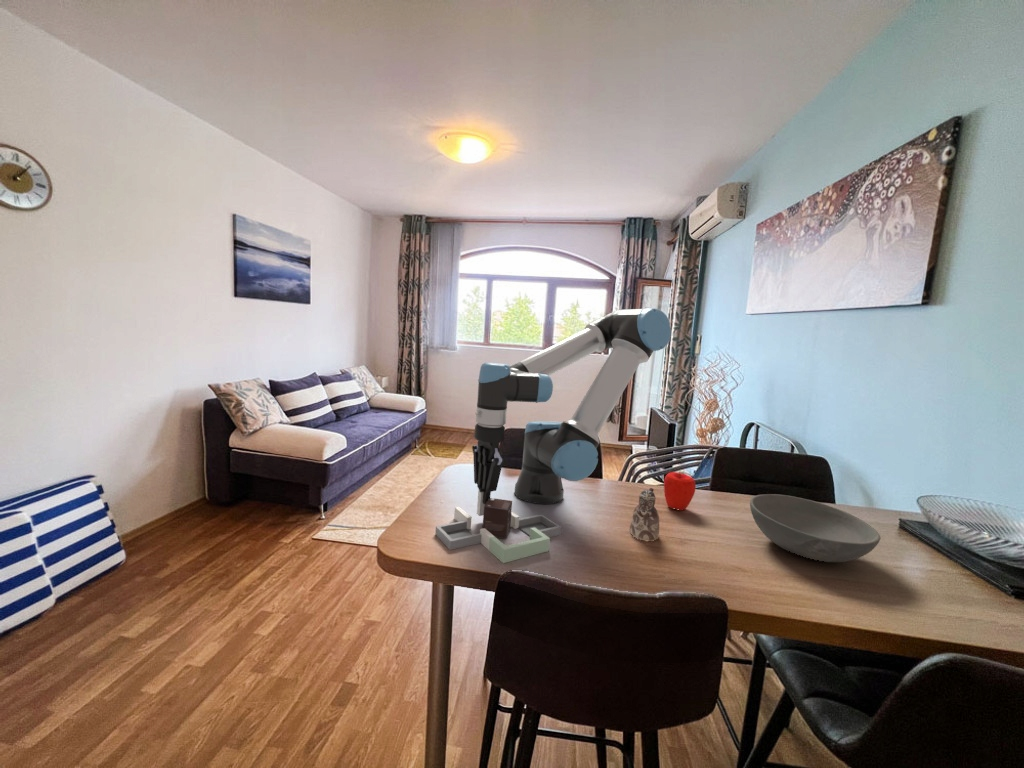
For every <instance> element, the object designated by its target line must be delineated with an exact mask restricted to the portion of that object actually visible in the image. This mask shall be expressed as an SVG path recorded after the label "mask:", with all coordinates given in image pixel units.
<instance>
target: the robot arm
mask: <svg viewBox="0 0 1024 768" xmlns="http://www.w3.org/2000/svg"><path fill="white" fill-rule="evenodd" d="M671 336H672V327H671V322H670V320H669V317H668V316H667V315H666V314H665V312H664V311H663V310H661V309H659V308H651V307H644V308H632V309H631V308H629V309H625V308H624V309H618V310H614V311H613V312H610V313H608V314H606V315H604V316H603V315H602V317H600V318H597V319H596V320H594V321H592V322H590V323H588V324H586V326H585V327H584V329H583V330H582V331H579V332H577V333H575V334H573V335H570V336H569V337H567V338H565V339H563V340H562V341H559V342H557V343H555V344H553V345H551V346H549V347H546V349H543V350H541V351H538V352H536V353H535V354H533V355H530V356H529V357H527V358H524V359H523V360H521V361H518V362H517V363H515V364H512V365H511V366H510V364H506V363H499V362H498V363H497V362H484V363H482V364H481V365H480V370H479V375H478V380H477V381H478V386H477V403H476V412H475V415H476V416H475V422H476V424H475V425H474V433H473V434H474V435H473V437H474V439H475V440H476V441H477V444H475V445H474V444H473V445H472V446H471V448H472V454H473V481H474V482H473V483H474V484H475V485H477V486H476V487H477V489H478V492H477V494H478V495H477V505H476V506H477V507H476V515H477V516H479V517H481V516H483V515H484V506H485V504H486V502H487V501H488V500H489V498H491V493H492V492H497V488H498V483H499V480H500V476H501V473H502V472H501V471H502V467H503V465H504V463H505V461H506V459H505V457H504V456H501V455H500V452H501V449H500V443H502V442H503V441H504V440H505V433H506V432H505V431H506V429H505V426H504V425H506V424H507V423H506V421H507V409H508V402H509V403H510V402H514V403H515V402H517V403H518V402H521V403H535V404H538V403H545V402H548V401H550V399H551V397H552V396H553V389H554V384H553V380H552V378H551V377H550V376H551V375H553V374H555V373H557V372H558V371H560V370H562V369H564V368H566V367H568V366H570V365H572V364H574V363H576V362H579V361H580V360H582V359H583V358H586V357H587V356H590V355H592V354H593V353H602V352H605V351H606V350H609V349H612V350H611V351H610V354H609V355H608V357H607V358H606V360H605V362H604V363H603V364H602V367H601V369H600V370H599V372H598V373H597V375H596V377H595V378H594V380H593V381H592V384H591V385H590V387H589V388H588V390H587V391H586V393H585V395H584V397H583V399H582V400H581V401H580V403H579V405H578V407H577V408H576V410H575V412H574V413H573V414H572V416H571V418H570V419H566V420H563V421H562V422H559V421H551V420H549V421H547V420H546V421H545V420H542V421H541V420H540V421H539V420H537V421H536V420H533V421H529V422H527V423H526V424H525V429H524V430H525V431H524V433H523V434H524V440H523V453H522V465H521V470H520V473H519V476H518V478H517V481H516V482H515V485H514V495H515V496H516V497H517V498H518V499H521V500H522V501H525V502H528V503H533V504H538V505H544V504H545V505H548V504H549V505H550V504H557V503H559V502H561V501H562V500H563V499H564V494H565V491H564V487H563V481H562V479H564V480H567V481H569V482H579V481H582V480H585V479H587V478H588V477H589V476H590V475H592V473H593V472H594V470H595V469H596V467H597V465H598V461H599V458H598V456H599V452H598V450H597V448H598V447H599V444H600V439H599V434H600V432H601V431H602V429H603V427H604V425H605V423H606V422H607V420H608V419H609V418H610V417H609V416H610V415H611V413H612V411H613V410H614V408H615V407H616V405H617V403H618V401H619V400H620V398H621V396H622V394H623V393H624V392H625V389H626V388H627V386H628V384H629V383H630V381H631V380H632V377H633V376H634V374H635V373H636V372H637V369H638V367H639V365H640V364H643V363H647V362H648V361H649V360H650V358H651V356H652V354H653V353H654V352H656V351H657V352H659V351H660V350H663V349H664V348H666V347H667V346H668V344H669V342H670V340H671Z"/></svg>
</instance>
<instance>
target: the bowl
mask: <svg viewBox="0 0 1024 768" xmlns="http://www.w3.org/2000/svg"><path fill="white" fill-rule="evenodd" d="M749 507H750V513H751V515H752V518H753V520H754V522H755V524H756V525H757V527H758V528H759V530H760V531H761V533H762V534H764V536H765V537H766V538H767V539H769V540H770V541H771V542H773V543H774V544H776V545H777V546H778V547H779V548H781V549H783V550H785V551H787V552H789V551H790V553H791V554H794V553H795V554H794V555H796V554H797V556H799V555H801V556H800V557H802V556H803V557H802V558H805V557H806V559H808V558H810V559H809V560H812V559H814V561H817V560H819V561H818V562H822V561H824V562H823V563H843V562H845V563H846V562H850V561H854V560H856V559H859V558H862V557H864V556H866V555H868V554H869V553H870V552H872V551H873V550H874V549H875V548H876V547H877V546H878V544H879V542H880V540H881V535H880V533H878V531H877V530H876V529H875V528H874V527H872V525H870V524H869V523H867V522H865V521H864V520H862V519H861V518H859V517H857V516H855V515H853V514H851V513H849V512H846V511H844V510H842V509H839V508H836V507H833V506H831V505H827V504H824V503H821V502H819V501H815V500H812V499H808V498H802V497H797V496H794V495H786V494H776V493H774V494H772V493H771V494H770V493H767V494H766V493H765V494H757V495H754V496H753V497H752V498H751V499H750V501H749Z"/></svg>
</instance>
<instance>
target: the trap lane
mask: <svg viewBox="0 0 1024 768" xmlns="http://www.w3.org/2000/svg"><path fill="white" fill-rule="evenodd" d="M453 514H454V515H453V519H454V520H455V521H456V522H452V523H451V522H450V523H446V524H440V525H436V526H435V533H434V534H435V535H436V537H437V538H438V539H439V540H440V541H441V542H442V543H443V544H444V545H445V547H446V548H447V549H448V550H449V551H452V550H457V549H462V548H465V547H469V546H473V545H478V544H481V545H482V546H484V547H485V548H486V549H487V550H488V551H489V552H490V553H491V554H492V555H493V556H494V557H496V558H497V559H498V560H499V561H500V562H501V563H502V564H506V563H509V562H513V561H517V560H521V559H524V558H525V559H526V558H528V557H531V556H536V555H538V554H543V553H546V552H549V551H550V544H551V538H552V537H553V538H554V537H556V536H560V535H561V534H562V526H561V525H559V524H558V523H556V522H554V521H553V519H550V517H549V518H548V517H547V516H545V515H544V514H542V513H541V514H535V515H531V516H525V517H521V518H520V516H519V515H518V514H516V513H515V512H513V511H512V512H511V526H510V528H513V529H515V530H516V529H519V530H520V531H522V532H523V533H525V534H526V535H527V536H528V537H529V540H526V541H521V542H517V543H513V544H509V545H506V544H504V543H503V542H502V541H500V540H499V538H498V537H495V536H493V535H492V534H491V533H490V532H489V531H487V530H486V529H485V528H483V527H482V528H479V533H478V532H477V533H474V534H473V533H472V532H471V531H470V530H471V529H472V516H471V515H470V514H469V513H468V512H466V511H465V510H464V509H463V508H462V507H460V506H454V513H453Z"/></svg>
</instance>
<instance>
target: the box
mask: <svg viewBox="0 0 1024 768" xmlns="http://www.w3.org/2000/svg"><path fill="white" fill-rule="evenodd" d="M512 508H513V500H509V499H501V498H496V497H495V498H494V497H493V498H492V497H490V498H489V500H488V501H487V502H486V504H485V506H484V515H482V516H483V517H482V518H483V519H482V529H483V528H485V529H486V530H487V531H489V532H490V533H491V534H492V535H493V536H495V537H496V538H497V539H499V538H500V539H507V537H508V535H509V533H510V531H511V512H513V511H512Z"/></svg>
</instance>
